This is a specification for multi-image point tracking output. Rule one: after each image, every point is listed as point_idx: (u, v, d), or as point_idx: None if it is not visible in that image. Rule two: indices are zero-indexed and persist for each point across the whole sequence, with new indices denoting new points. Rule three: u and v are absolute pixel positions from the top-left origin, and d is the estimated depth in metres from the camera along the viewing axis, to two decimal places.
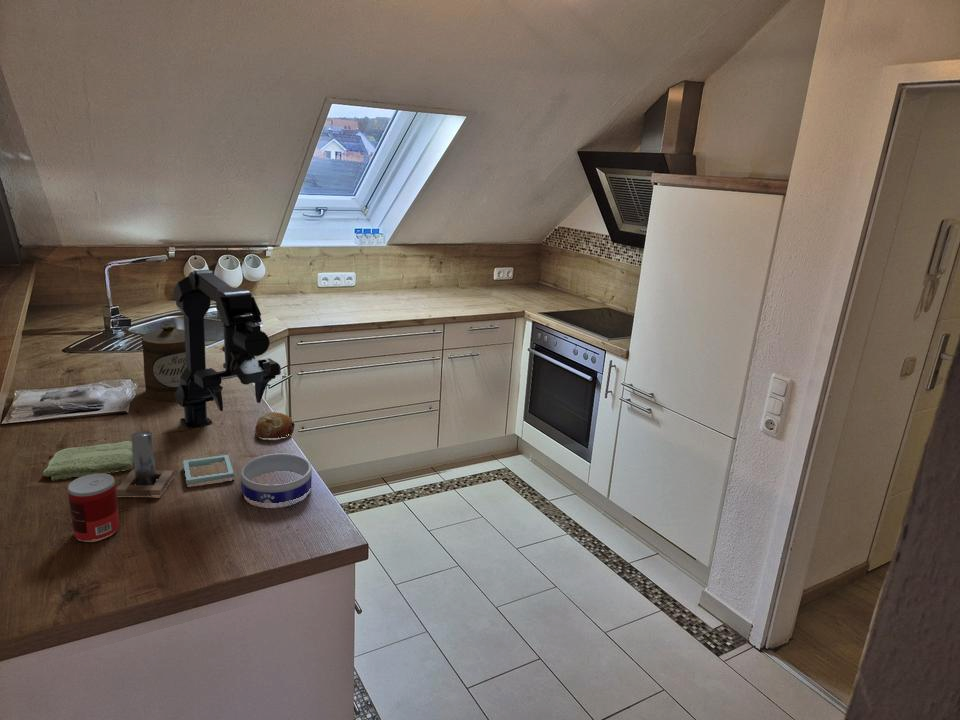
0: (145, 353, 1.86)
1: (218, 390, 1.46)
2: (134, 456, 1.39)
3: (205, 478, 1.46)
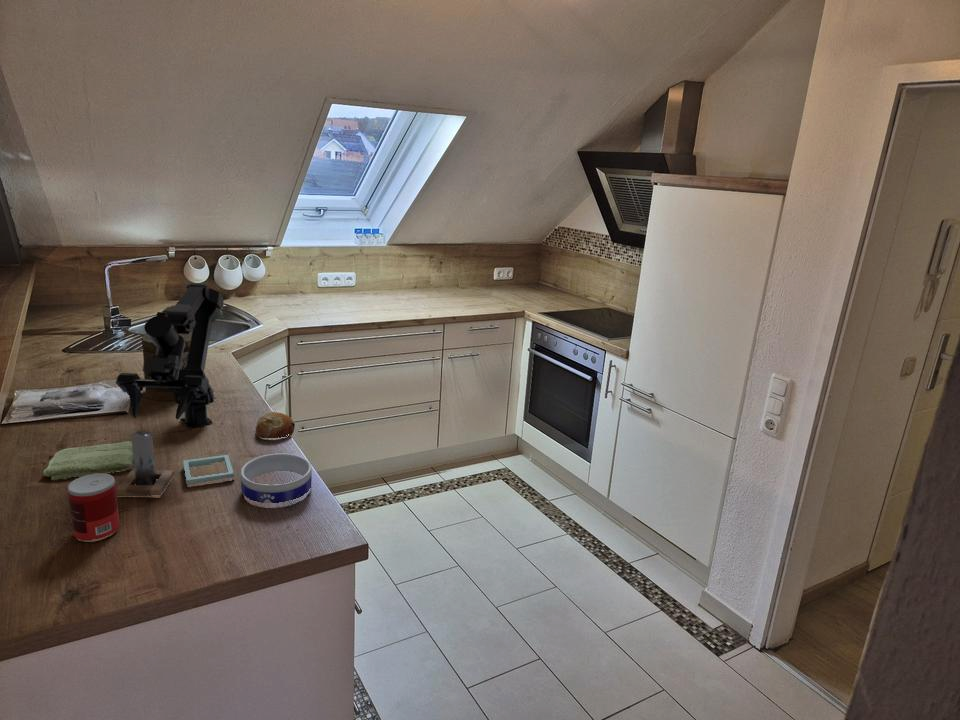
0: (145, 353, 1.86)
1: (130, 389, 1.47)
2: (134, 456, 1.39)
3: (205, 478, 1.46)
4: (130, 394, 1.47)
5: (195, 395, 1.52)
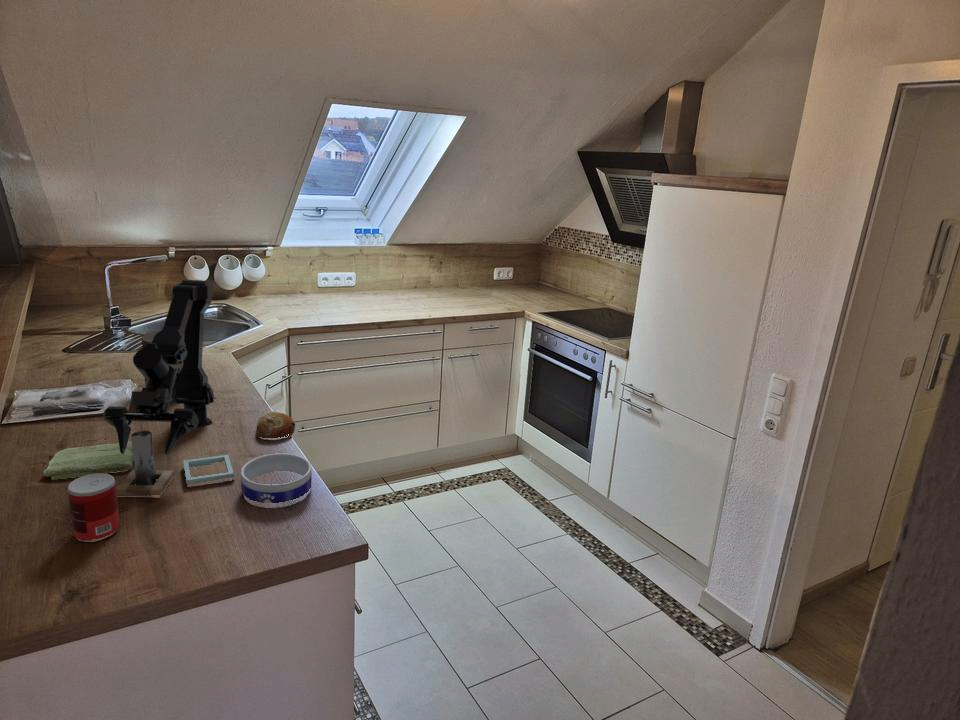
0: None
1: (118, 423, 1.41)
2: (134, 456, 1.39)
3: (205, 478, 1.46)
4: (118, 429, 1.41)
5: (185, 429, 1.46)
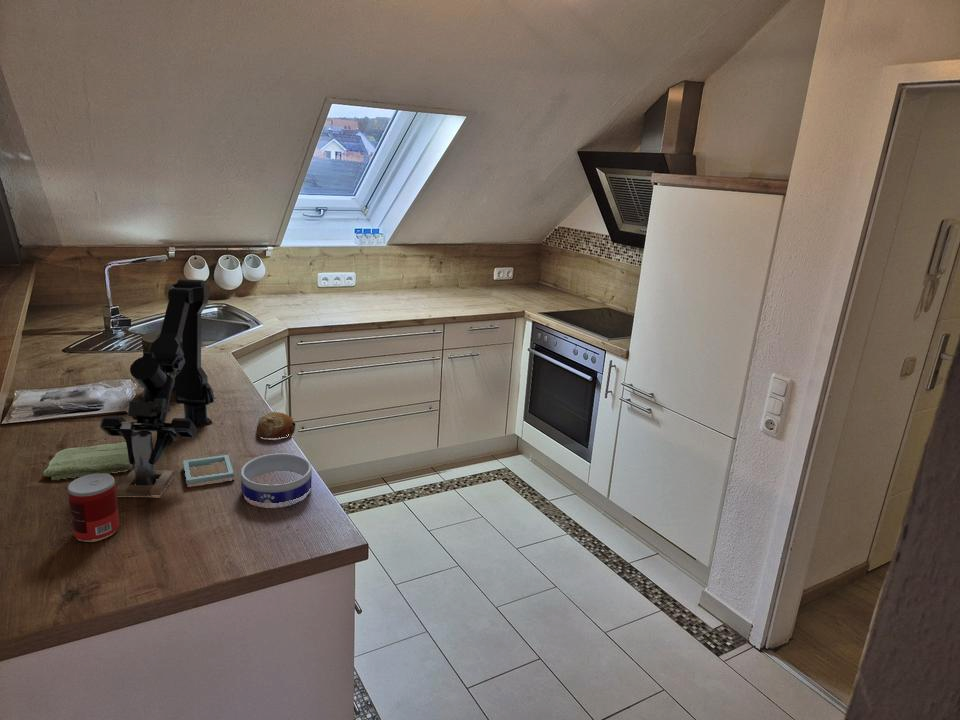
0: None
1: (127, 434, 1.40)
2: (134, 456, 1.39)
3: (205, 478, 1.46)
4: (127, 439, 1.40)
5: (172, 438, 1.45)
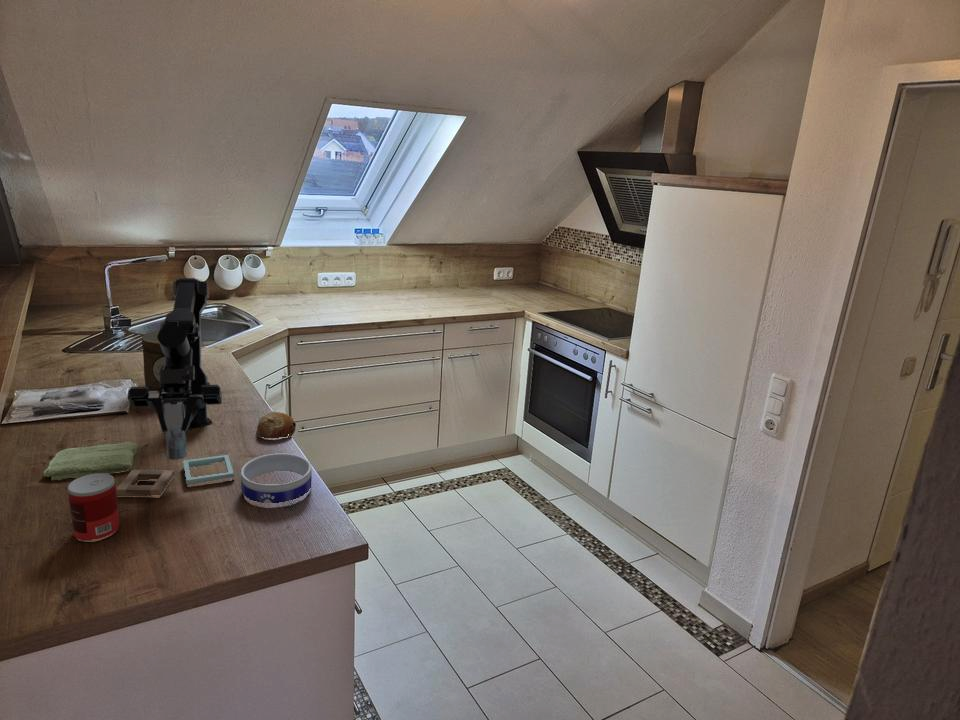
0: (145, 353, 1.86)
1: (157, 402, 1.41)
2: (167, 424, 1.40)
3: (205, 478, 1.46)
4: (156, 408, 1.41)
5: (199, 406, 1.47)
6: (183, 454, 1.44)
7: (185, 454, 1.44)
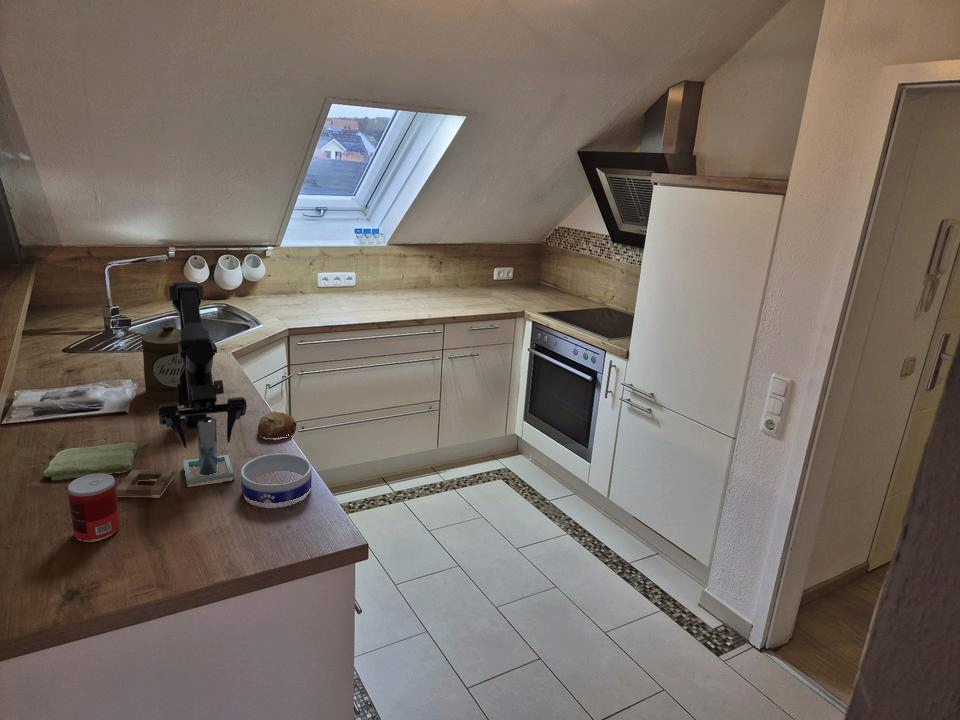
0: (145, 353, 1.86)
1: (176, 419, 1.45)
2: (201, 441, 1.46)
3: (205, 478, 1.46)
4: (176, 425, 1.45)
5: (236, 417, 1.54)
6: (215, 469, 1.50)
7: (217, 469, 1.51)
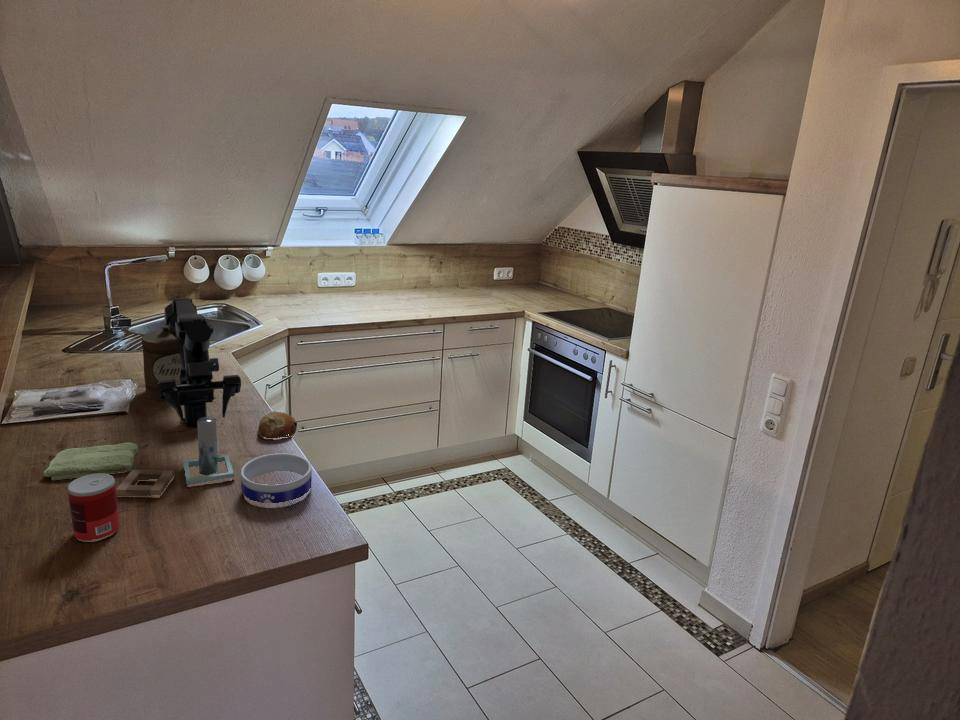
0: (145, 353, 1.86)
1: (174, 395, 1.53)
2: (202, 441, 1.46)
3: (205, 478, 1.46)
4: (174, 400, 1.53)
5: (231, 394, 1.62)
6: (215, 469, 1.50)
7: (217, 469, 1.51)
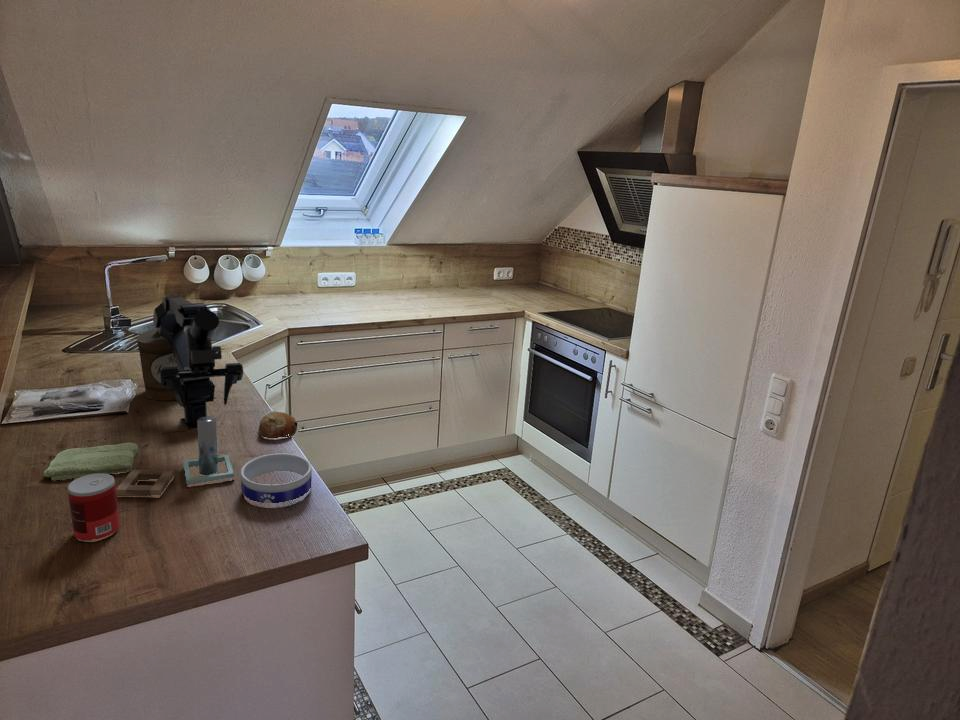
0: (142, 354, 1.85)
1: (176, 381, 1.54)
2: (202, 441, 1.46)
3: (205, 478, 1.46)
4: (176, 386, 1.55)
5: (233, 382, 1.63)
6: (215, 469, 1.50)
7: (217, 468, 1.51)
